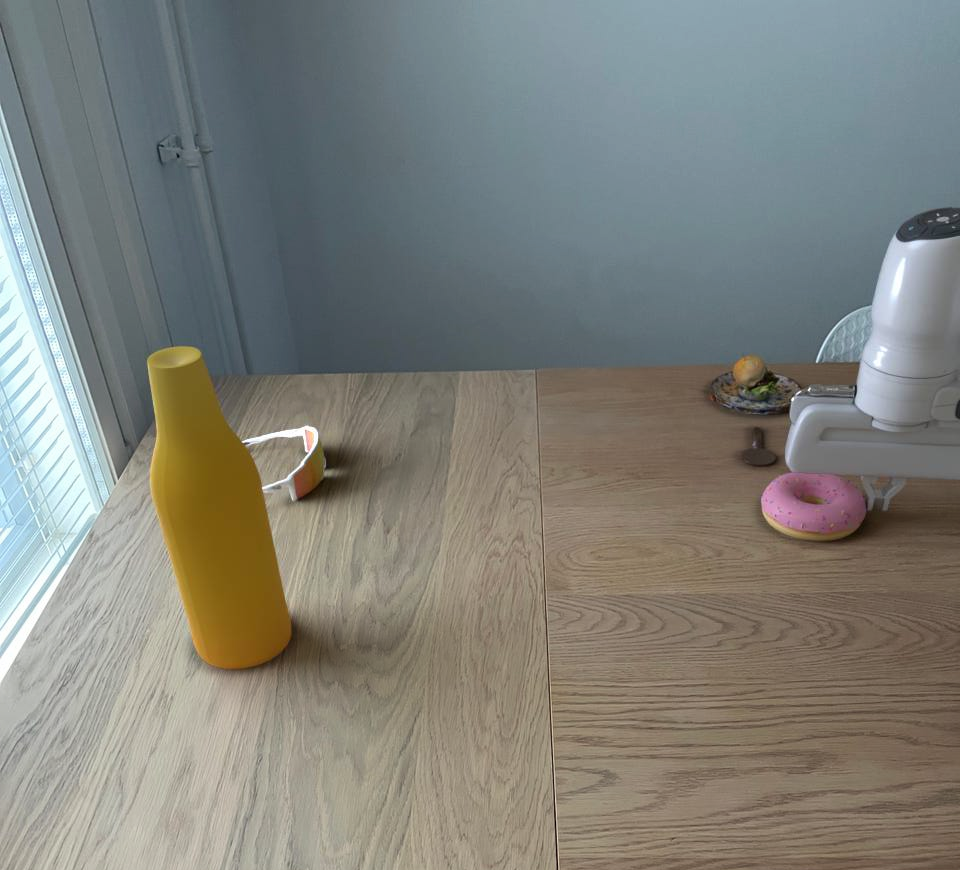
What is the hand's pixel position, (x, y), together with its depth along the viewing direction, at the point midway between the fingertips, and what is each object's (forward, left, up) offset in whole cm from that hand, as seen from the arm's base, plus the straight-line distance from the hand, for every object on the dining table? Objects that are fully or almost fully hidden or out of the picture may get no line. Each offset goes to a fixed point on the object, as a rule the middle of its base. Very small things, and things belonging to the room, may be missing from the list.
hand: (875, 508), depth 105 cm
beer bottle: (+61, +29, -2) cm, 67 cm away
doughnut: (+6, 0, -2) cm, 7 cm away
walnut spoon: (+12, -14, -2) cm, 19 cm away
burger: (+12, -29, -2) cm, 31 cm away
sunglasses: (+70, -1, -2) cm, 70 cm away
